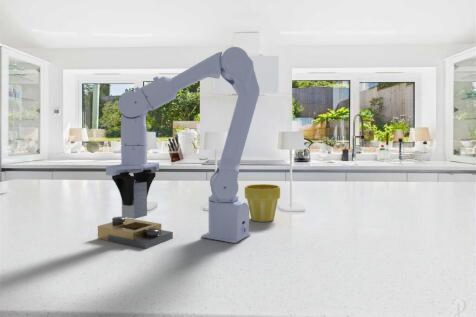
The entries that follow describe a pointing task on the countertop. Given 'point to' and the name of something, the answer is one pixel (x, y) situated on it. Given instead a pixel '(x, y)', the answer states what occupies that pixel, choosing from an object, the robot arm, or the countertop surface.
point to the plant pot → (262, 201)
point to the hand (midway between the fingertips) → (134, 203)
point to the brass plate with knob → (133, 232)
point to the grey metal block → (137, 202)
